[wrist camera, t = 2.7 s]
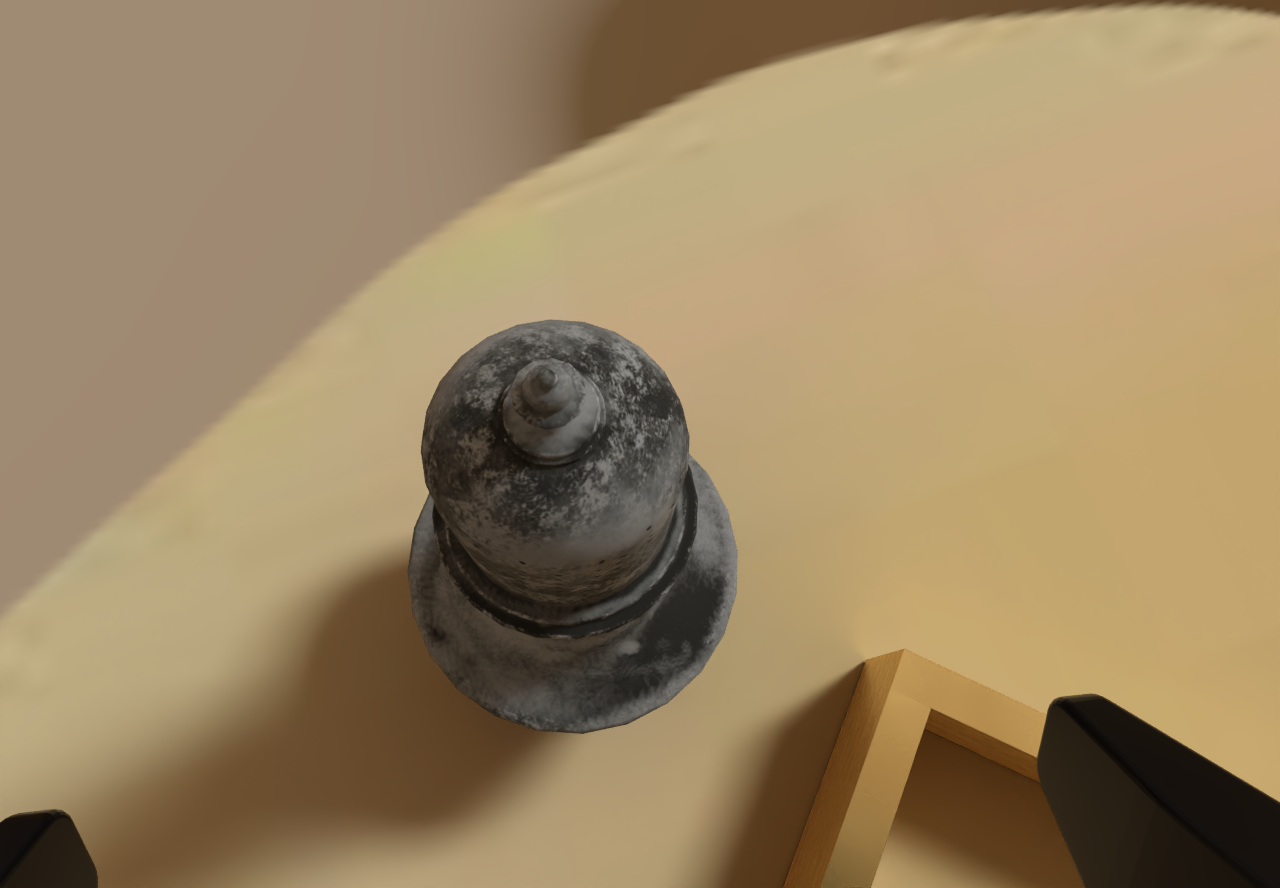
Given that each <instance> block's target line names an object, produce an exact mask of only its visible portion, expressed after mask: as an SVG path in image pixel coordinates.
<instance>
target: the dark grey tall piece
mask: <svg viewBox="0 0 1280 888" xmlns="http://www.w3.org/2000/svg"><path fill="white" fill-rule="evenodd" d="M421 455H422V462H423V469H424V477H425V484H426V486H427V488H428V490H429V495H428V497H427V500H426V502H425V504H424V507H423V509H422V511H421V514H420V516H419V518H418V520H417V523H416V525H415V527H414V532H413V539H412V546H411V553H410V560H409V566H408V576H409V585H410V593H411V601H412V609H413V615H414V617H415V620H416V622H417V625H418V627H419V629H420V632H421V634H422V637H423V639H424V642H425V644H426V646H427V649H428V651H429V654H430V655H431V657H432V658H433V659H434V660H435V662H436V663H437V664H438V665H439V667H440V668H441V669H442V670H443V672H444V673H445V674H446V675H447V677H448V678H449V679H450V680H451V682H452V683H453V684H454V686H455V687H456V688H457V689H458V690H459V691H461V692H462V693H463V694H465V695H466V696H468V697H469V698H470V699H472V700H473V701H475V702H476V703H477V704H479V705H480V706H482V707H483V708H484V709H486V710H487V711H489V712H490V713H491V714H493V715H494V716H497V717H500V718H503V719H505V720H508V721H511V722H514V723H517V724H519V725H522V726H525V727H528V728H531V729H533V730H536V731H549V732H564V733H580V734H584V733H588V732H593V731H598V730H602V729H607V728H612V727H616V726H621V725H626V724H629V723H631V722H632V721H634V720H636V719H638V718H640V717H642V716H644V715H646V714H648V713H650V712H652V711H654V710H655V709H657V708H659V707H661V706H663V705H665V704H667V703H668V702H669V701H670V700H672V699H673V698H674V697H675V696H676V695H677V694H678V693H679V692H680V691H681V690H682V689H683V688H684V687H686V686H687V685H688V684H689V683H690V682H691V681H692V680H693V679H694V678H695V677H696V676H697V675H698V674H699V673H701V671H702V669H703V668H704V666H705V665H706V663H707V661H708V660H709V658H710V656H711V655H712V653H713V652H714V650H715V648H716V647H717V645H718V644H719V642H720V640H721V639H722V637H723V636H724V633H725V630H726V626H727V623H728V619H729V616H730V613H731V609H732V606H733V603H734V599H735V596H736V586H737V547H736V543H735V539H734V535H733V530H732V526H731V522H730V518H729V514H728V510H727V508H726V506H725V504H724V503H723V501H722V499H721V497H720V495H719V493H718V491H717V490H716V488H715V486H714V484H713V482H712V480H711V478H710V477H709V475H708V473H707V472H706V471H705V470H704V469H703V468H702V467H701V466H700V465H699V464H698V463H697V462H696V461H695V459H694V458H693V457H692V456H691V455H690V454H689V433H688V429H687V424H686V420H685V416H684V412H683V408H682V404H681V402H680V399H679V397H678V395H677V394H676V392H675V390H674V388H673V386H672V385H671V383H670V381H669V379H668V378H667V376H666V374H665V372H664V371H663V370H662V369H661V368H660V366H659V365H658V364H657V363H656V362H655V361H654V360H653V359H652V358H651V357H650V356H649V355H648V354H647V353H646V352H645V351H644V350H643V349H642V348H640V347H639V346H637V345H635V344H634V343H632V342H630V341H629V340H627V339H626V338H624V337H622V336H621V335H619V334H617V333H616V332H614V331H610V330H607V329H604V328H601V327H598V326H594V325H591V324H588V323H585V322H576V321H562V320H545V321H539V322H533V323H526V324H520V325H516V326H514V327H511V328H509V329H506V330H504V331H502V332H499V333H497V334H494V335H492V336H489V337H487V338H486V339H484V340H483V341H481V342H480V343H479V344H477V345H476V346H475V347H473V348H472V349H470V350H469V351H468V352H466V353H465V354H464V355H462V356H461V357H460V358H459V359H458V360H457V362H456V363H455V364H454V365H453V366H452V368H451V369H450V370H449V371H448V372H447V374H446V375H445V376H444V377H443V378H442V380H441V381H440V382H439V384H438V387H437V389H436V391H435V393H434V395H433V398H432V400H431V402H430V404H429V406H428V409H427V411H426V417H425V424H424V430H423V437H422V445H421Z"/></svg>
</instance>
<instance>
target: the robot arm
mask: <svg viewBox="0 0 1280 888" xmlns="http://www.w3.org/2000/svg"><path fill="white" fill-rule="evenodd" d="M1037 772H1038V777H1039V781H1040V784H1041V786H1042V789H1043V791H1044V794H1045V796H1046V798H1047V801H1048V803H1049V805H1050V808H1051V810H1052V812H1053V815H1054V817H1055V819H1056V822H1057V824H1058V826H1059V829H1060V831H1061V833H1062V836H1063V838H1064V840H1065V843H1066V845H1067V847H1068V850H1069V852H1070V854H1071V857H1072V859H1073V861H1074V864H1075V866H1076V868H1077V871H1078V873H1079V875H1080V878H1081V880H1082V882H1083V885H1084V887H1085V888H1280V802H1279V801H1277V800H1275V799H1274V798H1272V797H1270V796H1269V795H1267V794H1265V793H1264V792H1262V791H1260V790H1259V789H1257V788H1255V787H1254V786H1252V785H1250V784H1249V783H1247V782H1245V781H1243V780H1242V779H1240V778H1238V777H1237V776H1235V775H1233V774H1232V773H1230V772H1228V771H1227V770H1225V769H1223V768H1222V767H1220V766H1218V765H1217V764H1215V763H1213V762H1212V761H1210V760H1208V759H1207V758H1205V757H1203V756H1202V755H1200V754H1198V753H1197V752H1195V751H1193V750H1192V749H1190V748H1188V747H1187V746H1185V745H1183V744H1182V743H1180V742H1178V741H1177V740H1175V739H1173V738H1172V737H1170V736H1168V735H1167V734H1165V733H1163V732H1162V731H1160V730H1158V729H1157V728H1155V727H1153V726H1152V725H1150V724H1148V723H1147V722H1145V721H1143V720H1142V719H1140V718H1138V717H1137V716H1135V715H1133V714H1132V713H1130V712H1128V711H1127V710H1125V709H1123V708H1122V707H1120V706H1118V705H1117V704H1115V703H1113V702H1111V701H1110V700H1108V699H1106V698H1104V697H1102V696H1100V695H1097V694H1082V695H1073V696H1064V697H1058V698H1056V699H1054V700H1053V701H1052V703H1051V704H1050V705H1049V708H1048V711H1047V716H1046V720H1045V725H1044V729H1043V733H1042V738H1041V742H1040V747H1039V751H1038V755H1037ZM0 888H98V877H97V871H96V868H95V865H94V863H93V861H92V859H91V857H90V855H89V853H88V851H87V849H86V847H85V845H84V843H83V841H82V839H81V837H80V835H79V833H78V831H77V829H76V827H75V824H74V822H73V820H72V819H71V817H70V816H69V815H68V814H67V813H65V812H64V811H62V810H57V809H53V810H44V811H35V812H26V813H18V814H15V815H12V816H10V817H8V818H6V819H4V820H3V821H2V822H0Z"/></svg>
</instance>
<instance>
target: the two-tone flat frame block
mask: <svg viewBox="0 0 1280 888" xmlns="http://www.w3.org/2000/svg"><path fill="white" fill-rule="evenodd" d="M1046 716H1047V714H1044V713H1042V712H1040V711H1038V710H1036V709H1034V708H1031V707H1029V706H1027V705H1025V704H1023V703H1021V702H1018V701H1016V700H1014V699H1012V698H1010V697H1008V696H1006V695H1003V694H1001V693H999V692H997V691H995V690H993V689H990V688H988V687H986V686H984V685H982V684H980V683H977V682H975V681H973V680H971V679H969V678H967V677H964V676H962V675H960V674H958V673H956V672H954V671H951V670H949V669H947V668H945V667H943V666H941V665H938V664H936V663H934V662H932V661H930V660H928V659H926V658H923V657H921V656H919V655H917V654H915V653H913V652H910V651H908V650H906V649H902V650H899V651H895V652H892V653H888V654H885V655H881V656H878V657H874V658H871V659H867V660H866V662H865V664H864V667H863V670H862V672H861V675H860V678H859V681H858V683H857V686H856V689H855V692H854V694H853V697H852V700H851V703H850V705H849V708H848V711H847V713H846V716H845V719H844V722H843V724H842V727H841V730H840V733H839V735H838V738H837V741H836V744H835V746H834V749H833V752H832V754H831V757H830V760H829V763H828V765H827V768H826V771H825V774H824V776H823V779H822V782H821V785H820V787H819V790H818V793H817V795H816V798H815V801H814V804H813V806H812V809H811V812H810V815H809V817H808V820H807V823H806V826H805V828H804V831H803V834H802V836H801V839H800V842H799V845H798V847H797V850H796V853H795V856H794V858H793V861H792V864H791V867H790V869H789V872H788V875H787V877H786V880H785V883H784V886H783V888H871V886H872V883H873V880H874V877H875V874H876V871H877V868H878V865H879V862H880V859H881V856H882V853H883V850H884V847H885V844H886V841H887V838H888V835H889V832H890V829H891V826H892V823H893V820H894V817H895V814H896V811H897V808H898V805H899V802H900V799H901V796H902V793H903V790H904V787H905V784H906V781H907V778H908V775H909V772H910V769H911V766H912V763H913V760H914V757H915V754H916V751H917V748H918V745H919V742H920V739H921V737H922V734H923V731H924V729H927V730H929V731H931V732H933V733H935V734H937V735H939V736H941V737H944V738H946V739H948V740H950V741H952V742H954V743H956V744H958V745H961V746H963V747H965V748H967V749H969V750H971V751H973V752H975V753H978V754H980V755H982V756H984V757H986V758H988V759H990V760H992V761H995V762H997V763H999V764H1001V765H1003V766H1005V767H1007V768H1009V769H1012V770H1014V771H1016V772H1018V773H1020V774H1022V775H1024V776H1026V777H1029V778H1031V779H1033V780H1035V781H1037V782H1039V783H1040V781H1039V777H1038V772H1037V755H1038V751H1039V747H1040V742H1041V738H1042V733H1043V729H1044V725H1045V720H1046Z"/></svg>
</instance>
